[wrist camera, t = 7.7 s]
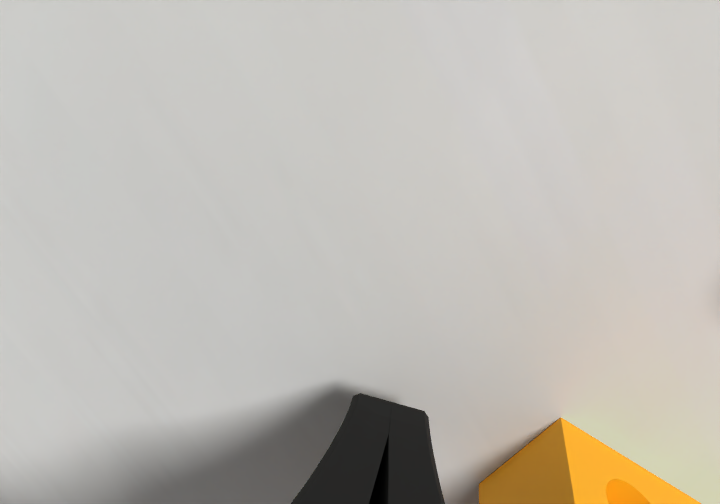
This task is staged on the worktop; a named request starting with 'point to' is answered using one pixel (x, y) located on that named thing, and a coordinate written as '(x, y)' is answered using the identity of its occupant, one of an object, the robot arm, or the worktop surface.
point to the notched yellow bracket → (574, 474)
